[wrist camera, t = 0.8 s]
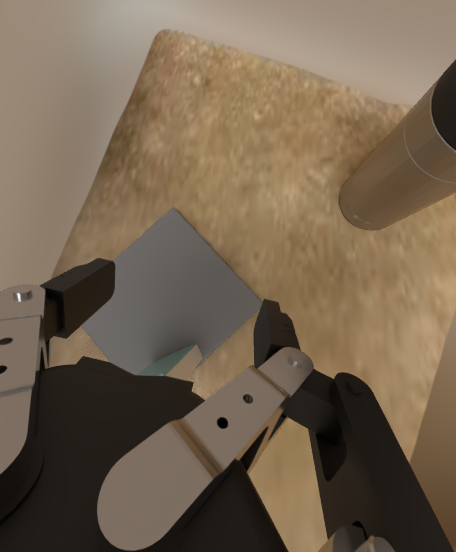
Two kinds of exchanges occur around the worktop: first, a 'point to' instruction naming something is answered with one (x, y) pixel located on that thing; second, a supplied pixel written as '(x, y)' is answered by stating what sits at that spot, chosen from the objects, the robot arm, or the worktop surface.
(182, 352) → the tile
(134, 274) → the mat
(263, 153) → the worktop surface
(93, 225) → the worktop surface
